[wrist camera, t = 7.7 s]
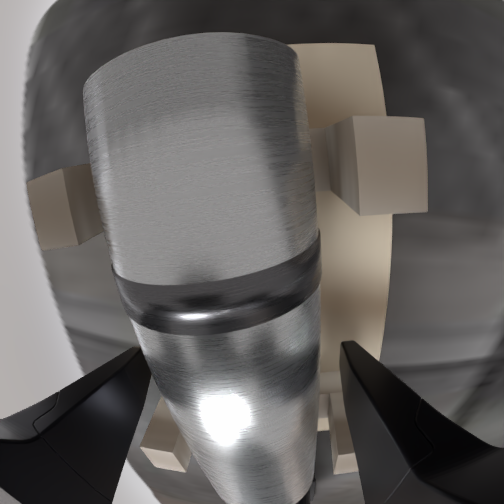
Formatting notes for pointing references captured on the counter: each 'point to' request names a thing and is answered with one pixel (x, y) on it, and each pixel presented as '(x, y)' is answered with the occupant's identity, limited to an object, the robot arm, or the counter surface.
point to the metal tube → (217, 247)
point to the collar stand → (328, 216)
